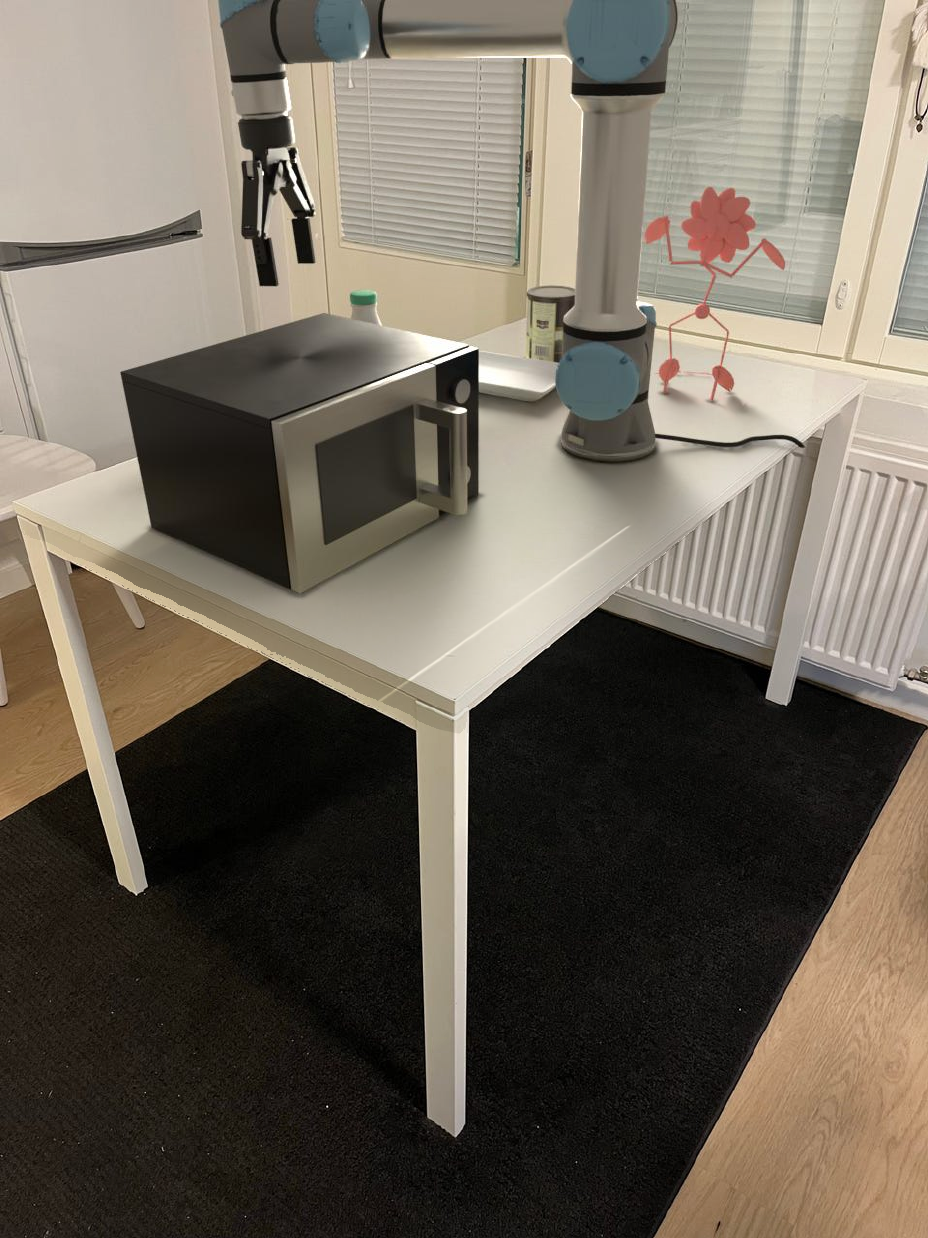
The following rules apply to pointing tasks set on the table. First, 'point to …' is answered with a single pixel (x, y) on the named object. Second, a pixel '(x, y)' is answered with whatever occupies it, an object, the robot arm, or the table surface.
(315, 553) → the microwave door
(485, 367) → the tray
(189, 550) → the table surface
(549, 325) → the coffee can
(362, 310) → the milk bottle
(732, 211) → the figurine
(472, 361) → the microwave
